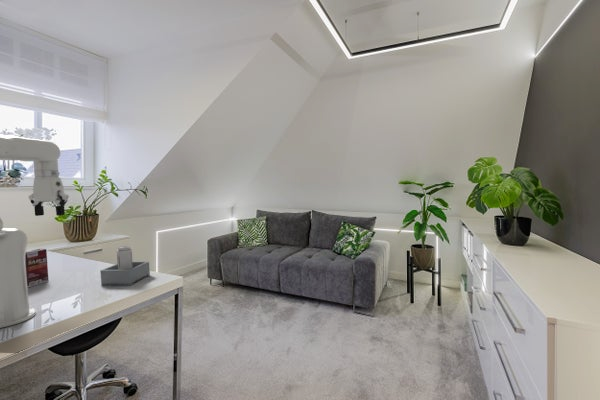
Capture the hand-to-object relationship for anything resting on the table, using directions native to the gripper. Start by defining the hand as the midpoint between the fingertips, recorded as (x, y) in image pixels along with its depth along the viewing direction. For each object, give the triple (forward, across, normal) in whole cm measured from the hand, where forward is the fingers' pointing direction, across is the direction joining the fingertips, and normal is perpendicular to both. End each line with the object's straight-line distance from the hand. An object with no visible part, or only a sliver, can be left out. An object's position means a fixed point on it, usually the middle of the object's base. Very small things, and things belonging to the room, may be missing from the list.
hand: (50, 215), depth 117 cm
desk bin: (+33, -21, -15) cm, 42 cm away
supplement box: (+34, +20, -9) cm, 40 cm away
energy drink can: (+32, -21, -15) cm, 41 cm away
